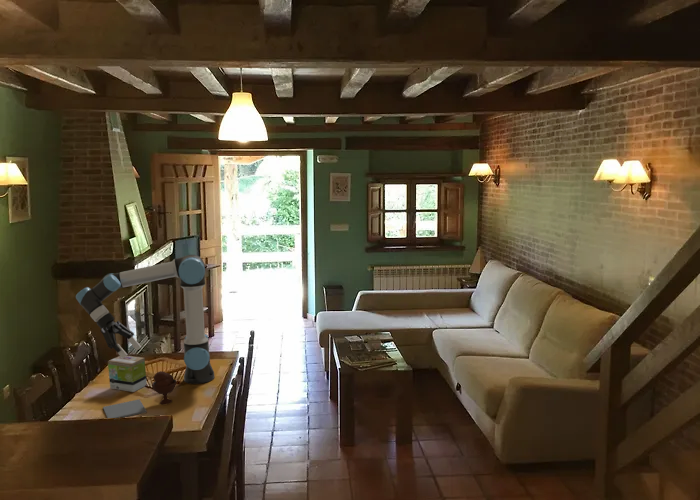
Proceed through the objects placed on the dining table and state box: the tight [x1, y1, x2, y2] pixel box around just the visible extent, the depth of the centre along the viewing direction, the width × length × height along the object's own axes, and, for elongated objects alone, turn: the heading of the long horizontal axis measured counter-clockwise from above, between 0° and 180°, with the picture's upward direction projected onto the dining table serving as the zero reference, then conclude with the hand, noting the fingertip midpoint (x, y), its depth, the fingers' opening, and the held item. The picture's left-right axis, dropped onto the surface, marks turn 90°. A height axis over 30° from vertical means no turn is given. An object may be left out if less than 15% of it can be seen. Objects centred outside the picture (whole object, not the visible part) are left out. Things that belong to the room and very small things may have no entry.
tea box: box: [107, 355, 148, 393], centre depth 306 cm, size 15×10×15 cm, turn 68°
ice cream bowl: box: [151, 371, 178, 405], centre depth 284 cm, size 11×11×15 cm
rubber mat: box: [102, 399, 147, 419], centre depth 278 cm, size 16×16×1 cm
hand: (132, 352), depth 285 cm, fingers open, 13 cm apart
